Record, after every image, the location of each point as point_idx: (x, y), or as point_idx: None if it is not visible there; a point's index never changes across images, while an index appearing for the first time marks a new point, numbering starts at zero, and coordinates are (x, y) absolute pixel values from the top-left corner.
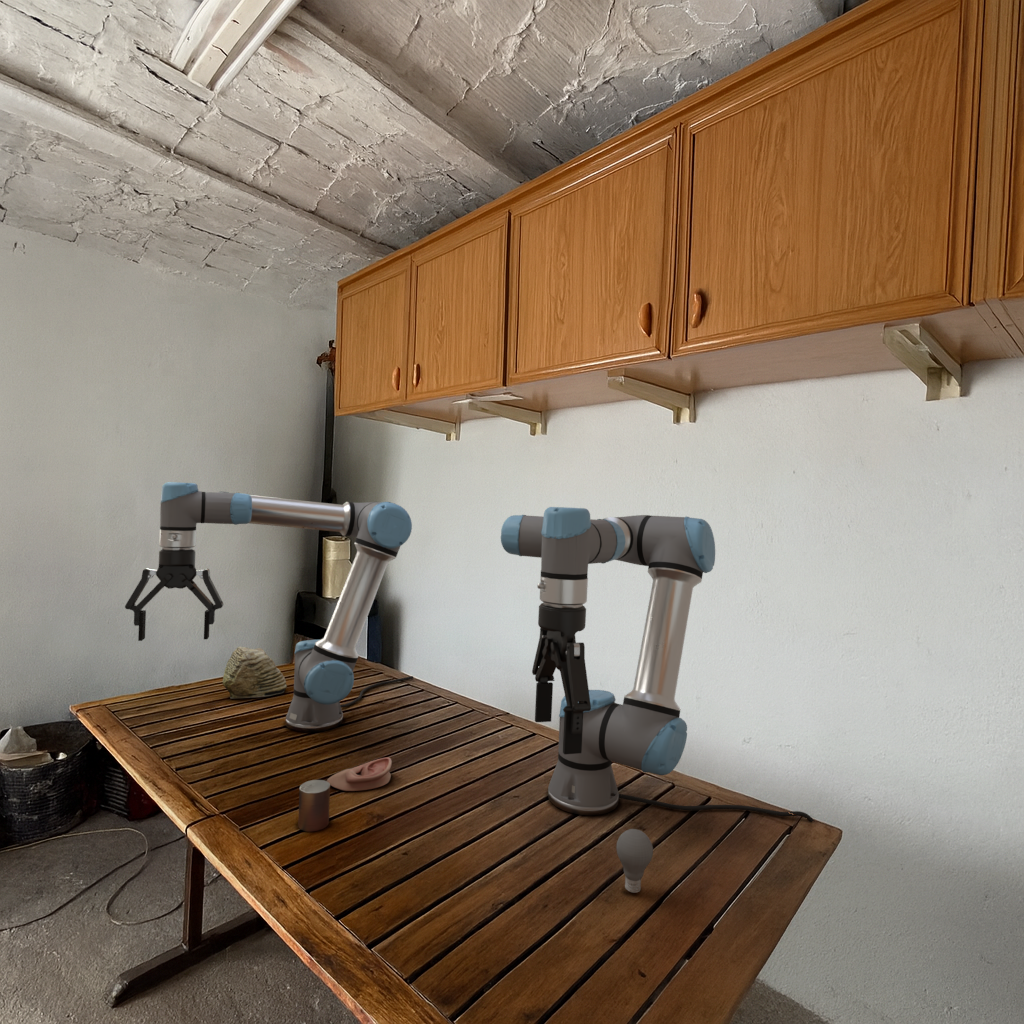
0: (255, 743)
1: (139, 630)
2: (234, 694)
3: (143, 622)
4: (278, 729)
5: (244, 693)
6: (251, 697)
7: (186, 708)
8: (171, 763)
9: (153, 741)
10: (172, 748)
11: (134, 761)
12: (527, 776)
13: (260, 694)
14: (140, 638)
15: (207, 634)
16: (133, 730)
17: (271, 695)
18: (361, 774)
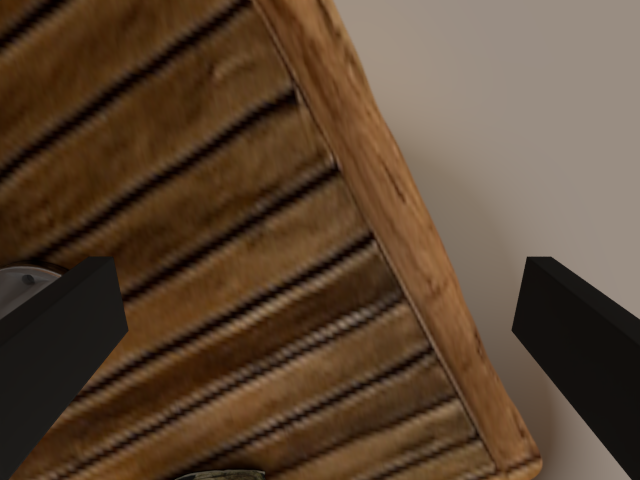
0: (152, 219)
1: (597, 292)
2: (253, 477)
3: (612, 361)
4: (121, 293)
5: (232, 477)
6: (221, 471)
7: (342, 434)
8: (313, 135)
9: (374, 270)
10: (328, 223)
11: (394, 163)
12: None
13: (202, 476)
14: (546, 262)
15: (66, 275)
16: (424, 336)
17: (182, 476)
18: None
